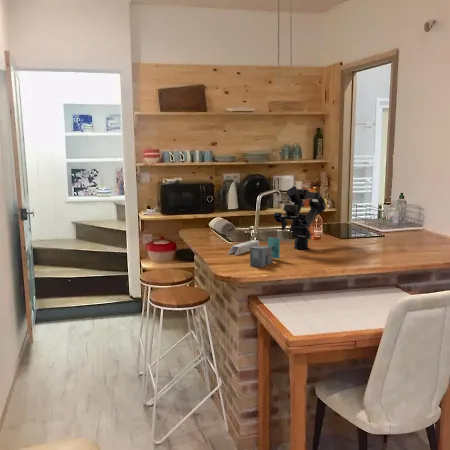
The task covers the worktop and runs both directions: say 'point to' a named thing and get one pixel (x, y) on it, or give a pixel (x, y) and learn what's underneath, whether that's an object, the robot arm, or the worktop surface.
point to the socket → (257, 256)
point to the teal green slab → (274, 246)
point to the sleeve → (268, 255)
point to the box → (243, 247)
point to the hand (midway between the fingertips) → (286, 231)
